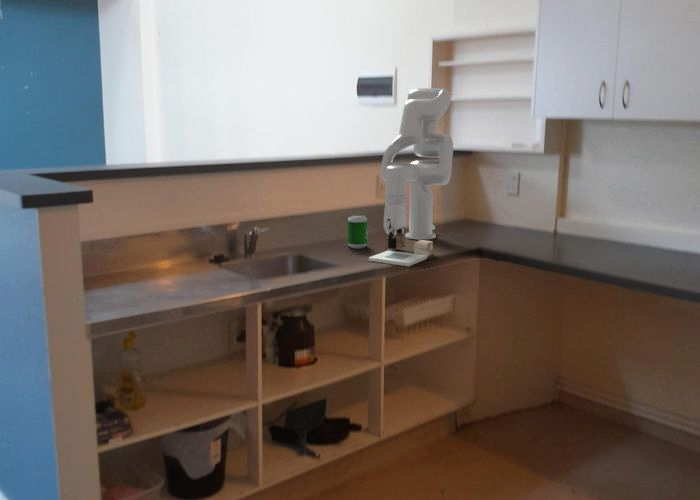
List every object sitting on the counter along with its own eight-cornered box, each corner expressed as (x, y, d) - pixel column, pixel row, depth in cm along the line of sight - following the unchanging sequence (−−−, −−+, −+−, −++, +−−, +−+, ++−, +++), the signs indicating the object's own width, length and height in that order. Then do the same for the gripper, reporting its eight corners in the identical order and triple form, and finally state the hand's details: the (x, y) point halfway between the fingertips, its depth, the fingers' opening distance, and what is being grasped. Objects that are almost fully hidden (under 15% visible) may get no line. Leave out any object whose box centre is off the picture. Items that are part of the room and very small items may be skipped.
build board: (388, 253, 264) (388, 249, 264) (426, 258, 256) (427, 255, 255) (368, 260, 253) (368, 257, 252) (408, 266, 244) (408, 262, 244)
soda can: (365, 249, 272) (365, 218, 269) (346, 248, 273) (345, 217, 271) (368, 245, 279) (368, 215, 276) (349, 244, 280) (349, 214, 278)
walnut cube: (393, 245, 272) (393, 232, 271) (404, 246, 270) (404, 234, 268) (386, 248, 268) (386, 235, 267) (398, 249, 266) (398, 236, 264)
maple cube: (420, 253, 265) (420, 239, 264) (432, 254, 263) (432, 241, 262) (414, 255, 261) (414, 242, 260) (426, 257, 259) (426, 243, 258)
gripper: (397, 194, 273) (397, 240, 278) (375, 201, 259) (375, 250, 264) (415, 196, 269) (415, 243, 274) (393, 203, 255) (393, 252, 260)
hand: (395, 246), depth 269 cm, fingers closed on walnut cube, 4 cm apart
